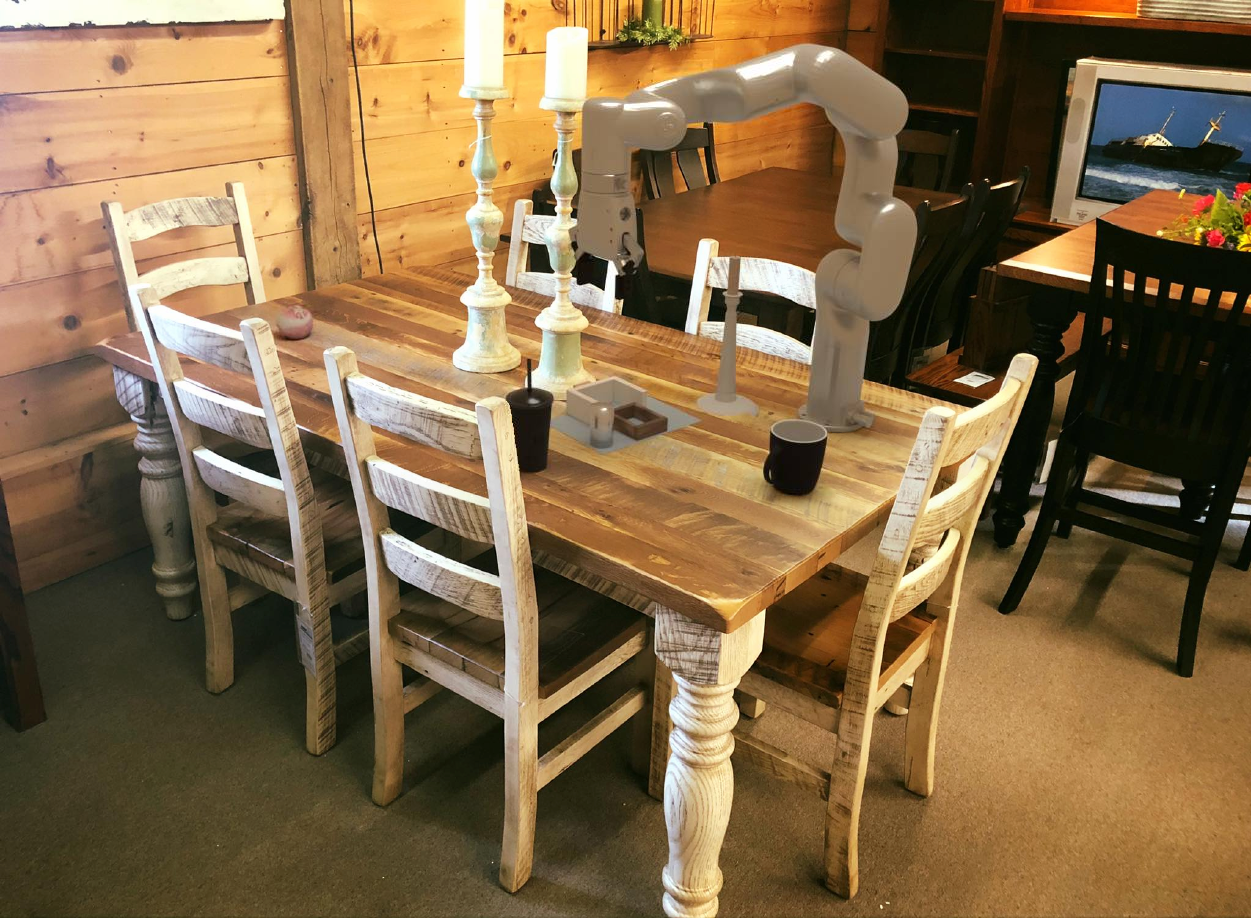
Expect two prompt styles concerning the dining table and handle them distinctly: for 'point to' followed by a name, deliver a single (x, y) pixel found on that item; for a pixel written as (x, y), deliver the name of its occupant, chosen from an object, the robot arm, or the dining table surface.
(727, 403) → the candlestick
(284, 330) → the apple
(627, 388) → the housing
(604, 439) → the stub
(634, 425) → the socket
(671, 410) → the board
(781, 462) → the mug
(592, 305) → the dining table surface
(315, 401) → the dining table surface
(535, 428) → the drinking cup
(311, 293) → the dining table surface
